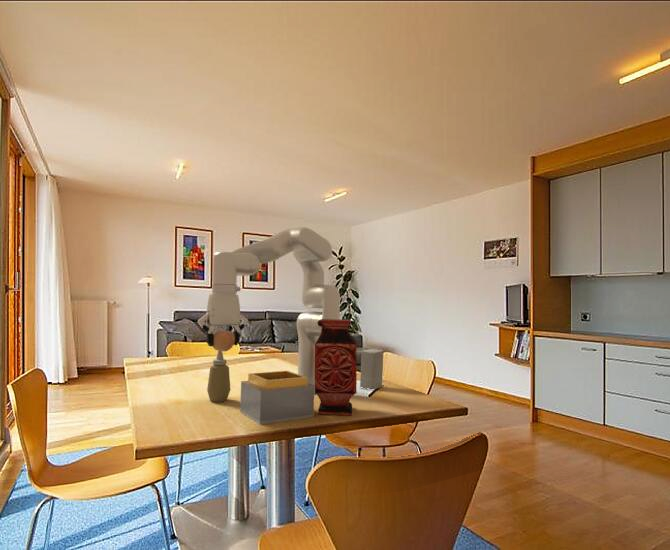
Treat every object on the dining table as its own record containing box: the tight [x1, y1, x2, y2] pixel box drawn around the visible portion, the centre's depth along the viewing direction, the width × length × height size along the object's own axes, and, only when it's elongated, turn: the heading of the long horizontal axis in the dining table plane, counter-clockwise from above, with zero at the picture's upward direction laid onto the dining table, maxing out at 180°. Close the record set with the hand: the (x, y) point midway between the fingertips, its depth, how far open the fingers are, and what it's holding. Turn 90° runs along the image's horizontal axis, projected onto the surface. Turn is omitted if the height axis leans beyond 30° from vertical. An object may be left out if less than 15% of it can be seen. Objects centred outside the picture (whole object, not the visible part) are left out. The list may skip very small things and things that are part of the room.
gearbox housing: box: [239, 370, 315, 425], centre depth 143 cm, size 18×16×12 cm
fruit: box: [212, 326, 235, 352], centre depth 145 cm, size 8×7×8 cm
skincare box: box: [359, 348, 384, 390], centre depth 189 cm, size 8×7×16 cm
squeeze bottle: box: [206, 350, 231, 403], centre depth 161 cm, size 8×8×18 cm
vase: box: [314, 318, 358, 416], centre depth 150 cm, size 14×14×30 cm
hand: (222, 345), depth 145 cm, fingers closed on fruit, 7 cm apart
